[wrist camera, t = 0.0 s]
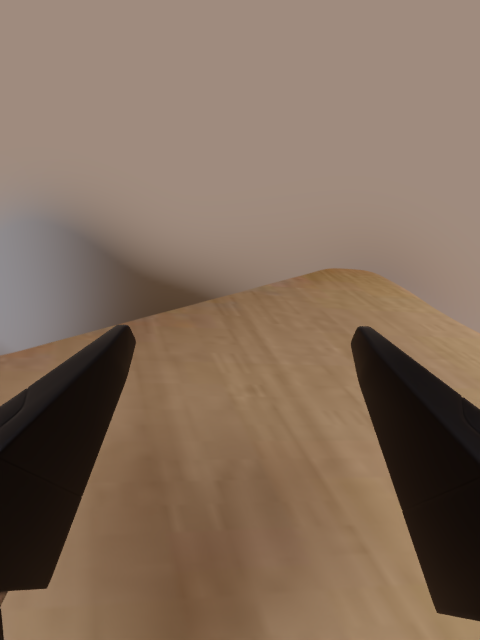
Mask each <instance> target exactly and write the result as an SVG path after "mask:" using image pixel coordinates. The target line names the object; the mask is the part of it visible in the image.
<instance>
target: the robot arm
mask: <svg viewBox="0 0 480 640" xmlns="http://www.w3.org/2000/svg"><path fill="white" fill-rule="evenodd" d="M135 344H136V341H135V337H134V335H133V333H132V331H131V329H130V327H129V326H128V325H117V326H115V327H113V328H112V329H111V330H109V331H108V332H106V333H105V334H103V335H102V336H101V337H99V338H98V339H96V340H95V341H94V342H92V343H91V344H89V345H88V346H86V347H85V348H84V349H82V350H81V351H79V352H78V353H76V354H75V355H74V356H72V357H71V358H69V359H68V360H66V361H65V362H64V363H62V364H61V365H59V366H58V367H56V368H55V369H54V370H52V371H51V372H49V373H48V374H46V375H45V376H44V377H42V378H41V379H39V380H38V381H36V382H35V383H34V384H32V385H31V386H29V387H28V389H25V390H23V391H22V392H21V393H19V394H18V395H16V396H15V397H13V398H12V399H10V400H9V401H8V402H6V403H5V404H3V405H2V406H0V606H1V604H2V602H3V600H4V598H5V596H6V594H7V592H8V591H15V590H31V589H46V588H47V587H48V585H49V582H50V580H51V578H52V575H53V572H54V570H55V567H56V564H57V562H58V559H59V556H60V554H61V551H62V549H63V546H64V543H65V541H66V538H67V535H68V533H69V530H70V527H71V525H72V522H73V520H74V517H75V514H76V512H77V509H78V506H79V504H80V501H81V498H82V495H83V493H84V490H85V487H86V485H87V482H88V479H89V477H90V474H91V472H92V469H93V466H94V464H95V461H96V458H97V456H98V453H99V450H100V448H101V445H102V443H103V440H104V437H105V435H106V432H107V429H108V427H109V424H110V421H111V419H112V416H113V413H114V411H115V408H116V406H117V403H118V400H119V398H120V395H121V392H122V390H123V387H124V384H125V382H126V379H127V376H128V372H129V368H130V364H131V360H132V356H133V352H134V348H135ZM351 348H352V353H353V358H354V363H355V367H356V372H357V377H358V381H359V384H360V388H361V391H362V394H363V397H364V399H365V402H366V405H367V408H368V411H369V414H370V417H371V420H372V423H373V426H374V429H375V432H376V435H377V438H378V441H379V444H380V447H381V450H382V453H383V456H384V459H385V462H386V465H387V468H388V470H389V473H390V476H391V479H392V482H393V485H394V488H395V491H396V494H397V497H398V500H399V503H400V506H401V509H402V510H403V511H402V512H403V515H404V518H405V521H406V524H407V527H408V530H409V533H410V536H411V539H412V542H413V545H414V548H415V551H416V554H417V557H418V560H419V563H420V566H421V569H422V571H423V574H424V577H425V580H426V583H427V586H428V589H429V592H430V595H431V598H432V601H433V604H434V606H435V609H436V611H437V613H440V614H445V615H450V616H455V617H460V618H465V619H470V620H476V621H480V409H478V408H477V407H476V406H474V405H473V404H472V403H470V402H469V401H468V400H466V399H465V398H463V397H461V395H460V394H458V393H457V392H456V391H454V390H453V389H452V388H450V387H449V386H448V385H446V384H445V383H444V382H443V381H441V380H440V379H439V378H437V377H436V376H435V375H433V374H432V373H431V372H429V371H428V370H427V369H425V368H424V367H423V366H421V365H420V364H419V363H417V362H416V361H415V360H413V359H412V358H411V357H410V356H408V355H407V354H406V353H404V352H403V351H402V350H400V349H399V348H398V347H396V346H395V345H394V344H392V343H391V342H390V341H388V340H387V339H386V338H384V337H383V336H382V335H380V334H379V333H378V332H376V331H375V330H374V329H373V328H371V327H368V326H360V327H358V328H357V329H356V331H355V334H354V336H353V338H352V341H351ZM0 640H4V637H3V626H2V616H1V609H0Z"/></svg>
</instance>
